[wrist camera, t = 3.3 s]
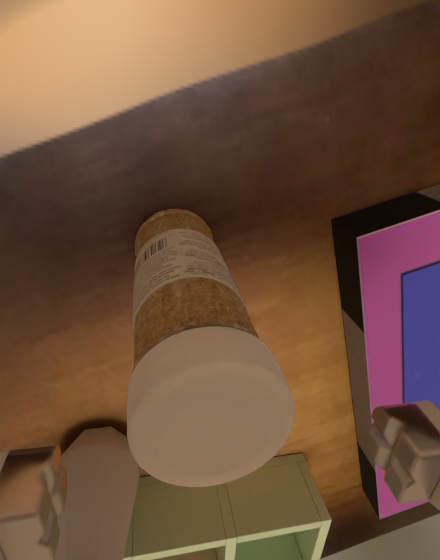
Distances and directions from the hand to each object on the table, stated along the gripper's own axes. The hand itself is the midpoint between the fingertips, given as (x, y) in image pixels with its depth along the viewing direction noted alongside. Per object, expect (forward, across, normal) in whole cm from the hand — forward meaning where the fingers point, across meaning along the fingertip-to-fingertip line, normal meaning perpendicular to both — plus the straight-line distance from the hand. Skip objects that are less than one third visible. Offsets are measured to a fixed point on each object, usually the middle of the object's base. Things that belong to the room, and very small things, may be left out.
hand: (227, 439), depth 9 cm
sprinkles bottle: (+14, 0, 0) cm, 14 cm away
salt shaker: (+14, +6, +16) cm, 22 cm away
